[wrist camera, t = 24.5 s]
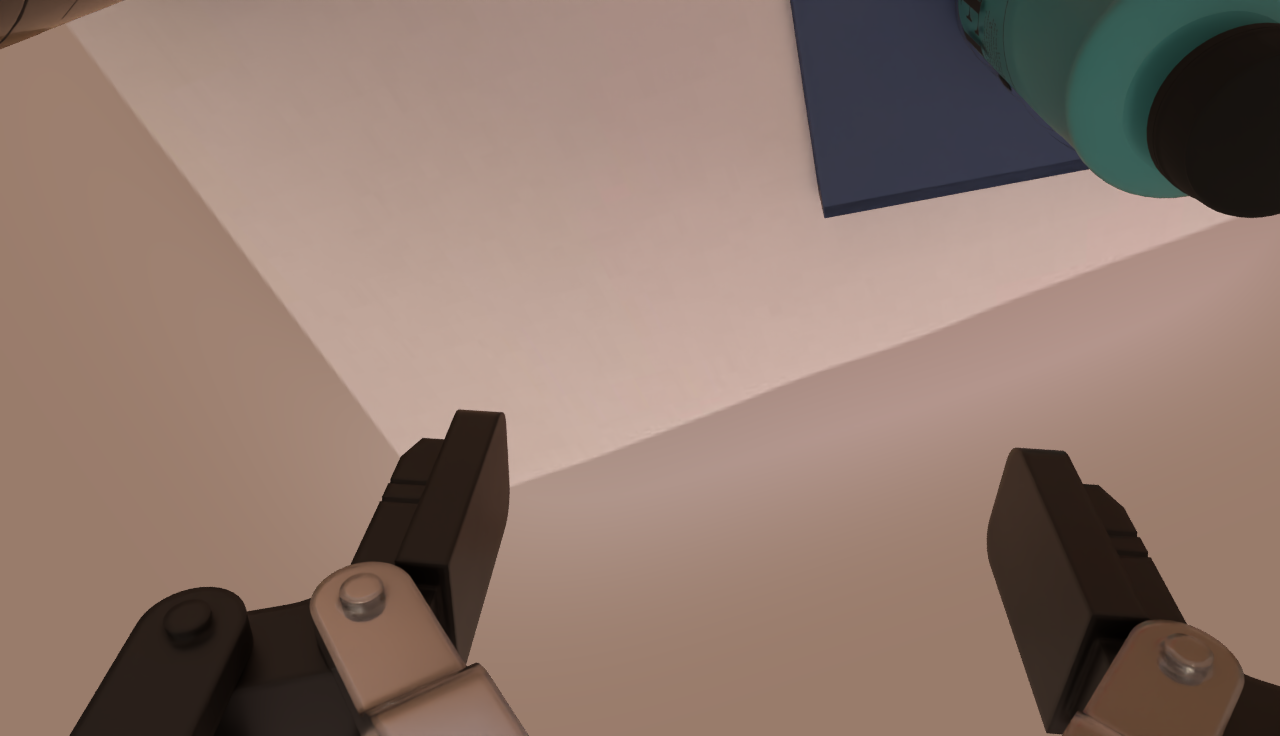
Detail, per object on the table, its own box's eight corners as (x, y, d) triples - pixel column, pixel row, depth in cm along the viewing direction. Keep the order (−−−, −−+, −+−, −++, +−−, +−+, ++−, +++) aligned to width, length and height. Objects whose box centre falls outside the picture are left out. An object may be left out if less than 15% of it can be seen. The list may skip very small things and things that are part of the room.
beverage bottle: (913, -40, 38) (1066, 112, 21) (1076, -155, 36) (1396, -88, 19) (991, 94, 41) (1183, 327, 24) (1147, -5, 38) (1487, 175, 21)
